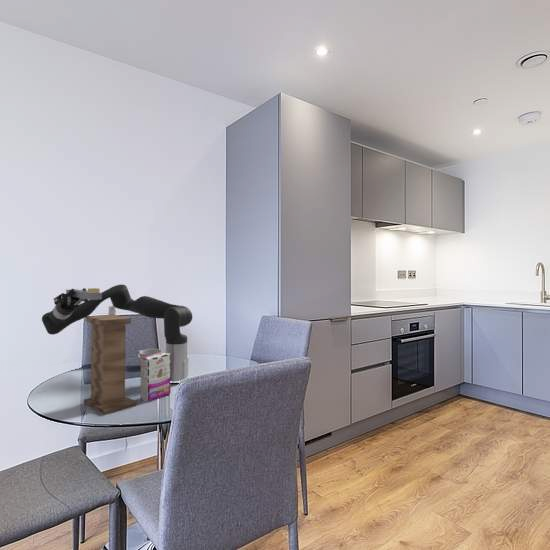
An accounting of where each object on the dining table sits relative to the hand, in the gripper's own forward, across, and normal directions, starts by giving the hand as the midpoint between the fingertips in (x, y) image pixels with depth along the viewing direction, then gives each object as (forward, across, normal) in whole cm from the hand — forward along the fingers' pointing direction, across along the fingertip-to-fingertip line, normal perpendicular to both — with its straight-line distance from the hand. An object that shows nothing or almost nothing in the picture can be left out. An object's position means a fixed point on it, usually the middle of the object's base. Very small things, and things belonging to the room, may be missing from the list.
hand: (79, 290), depth 158 cm
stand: (+3, 0, +49) cm, 49 cm away
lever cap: (+2, 0, +4) cm, 5 cm away
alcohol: (-44, +28, +22) cm, 57 cm away
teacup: (-29, +38, +30) cm, 57 cm away
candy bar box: (+8, +16, +51) cm, 54 cm away
